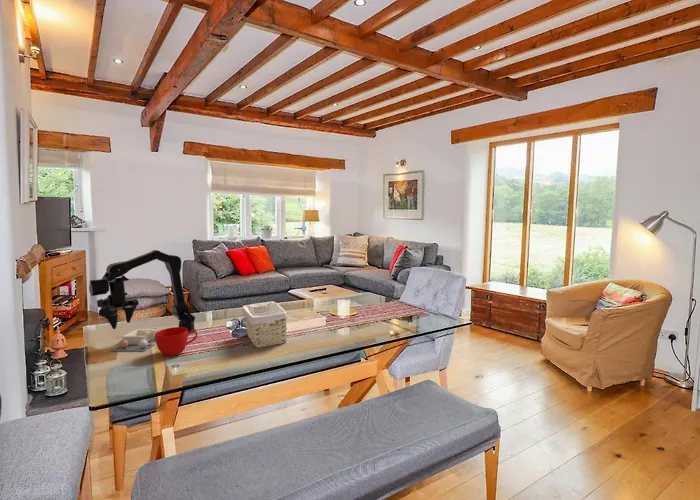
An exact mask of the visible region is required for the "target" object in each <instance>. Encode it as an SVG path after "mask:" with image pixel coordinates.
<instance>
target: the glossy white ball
mask: <svg viewBox="0 0 700 500" xmlns="http://www.w3.org/2000/svg"><path fill="white" fill-rule="evenodd" d="M148 344H149V342H147V340H144V339H143V340H140V341H139V343H138V346H139V348H142V349H143V348H146V347H147V346H148Z"/></svg>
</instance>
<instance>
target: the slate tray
mask: <svg viewBox="0 0 700 500" xmlns="http://www.w3.org/2000/svg"><path fill="white" fill-rule="evenodd" d="M153 347H156V343H148V346H147V347H146V348H143V349H142V348H139V346H138V344H128V346H127V347H126V348H120V347H119V346H117V347H115V348H112V349H111V352H121V353H122V352H129V353H130V352H135V353H136V352H137V353H141V352H142V353H144V352H146V351H148V350H150V349H151V348H153Z"/></svg>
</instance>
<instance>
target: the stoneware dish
mask: <svg viewBox="0 0 700 500" xmlns="http://www.w3.org/2000/svg"><path fill="white" fill-rule="evenodd" d="M143 331H149V333H147V334H145V335H143V336H141V334H142V332H143ZM158 331H159V329H158V328H137V329H134V330H133V331H131V332H129V333H126V334H124V335H123V336H121V337H122V338H121V340H123V339H125V340H127V341H128V343H129V344H138V343H139V341H140V340H143V339H144V340H147V342H148V343H149V342H151V341H153V340H154V339H155V333H156V332H158Z"/></svg>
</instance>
